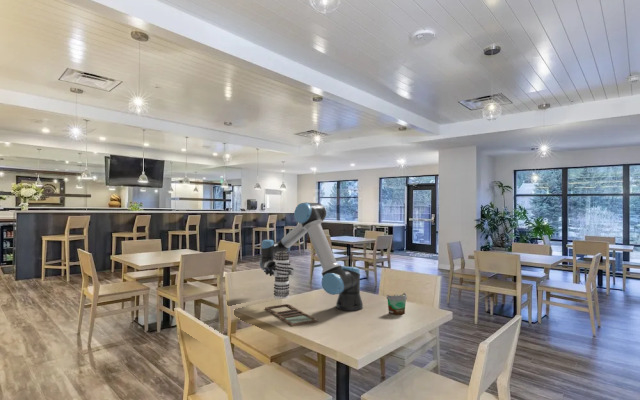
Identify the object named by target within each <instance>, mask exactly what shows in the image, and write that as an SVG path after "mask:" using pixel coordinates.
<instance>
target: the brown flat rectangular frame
mask: <svg viewBox="0 0 640 400" xmlns="http://www.w3.org/2000/svg"><path fill="white" fill-rule="evenodd" d="M284 307H288V308H289V309H288V310H287V309H286V310H282V311H274V310H273V309H277V308H284ZM265 310H266V311H267V312H270V313H271V314H272V315H274V316H275V317H277V318H279V319H280V320H282V321H283V322H284V323H286V324H288V325H289V326H290V327H296V326H302V325H307V324H313V323H317V322H318V319H317V318H315V317H313V316H311V315H309V314H308V313H305V312H304V311H302V310H300V309H298V308H297V307H295V306H292V305H291V304H289V303H284V304H279V305H270V306H265Z"/></svg>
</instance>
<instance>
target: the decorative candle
mask: <svg viewBox="0 0 640 400" xmlns="http://www.w3.org/2000/svg"><path fill="white" fill-rule="evenodd" d="M274 255H275V259H274V262H275V264H274V266H275V267H274V269H275V271H277V277H275V276H274V284H273V286H274V287H273V298H275V299H278V300H279V299H288V298H289V297H290V280H289V277H290V276H291V275H290V274H288V273H289V272H290V270H289V269H290V267H291V261H290V253H289V251H288V252H287V251H278V252H277V253H276V254H274Z"/></svg>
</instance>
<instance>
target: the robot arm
mask: <svg viewBox="0 0 640 400" xmlns="http://www.w3.org/2000/svg"><path fill="white" fill-rule="evenodd" d="M326 209H327V208H326V207H325V206H324V205H323V204H321V203H319V202H306V201H305V202H300V203H299V204H298V205H296V207H295V209H294V213H293V216H294V220H295V221H296V222H297V223H298V224H297V225H296V226H294V227H293V228H292V229H291V230H290V231H289V232H288V233H287V234H286V235H285V236H283V237H282V238H281V239H280V240H279V241H276V242H275V241H274V240H273V239H263V240H262V241H261V246H260V247H261V251H260V252H261V254H260V255H261V259H260V261H259V267H260V269H261V270H262V271H263V273H265V275H269V276H270V277H272V276H274V278H275V277H277V271H275V269H274V267H275V266H274V264H275V260H274V255H275V254H276V253H277V252H278V251H287V252H288V253H289V252H290V249H291V247H293V245H294V244H296V243H297V242H298V241H299V240H300V239H301V238H303V237H304V236H305V235H306V234H307V233H308V234H307V235H308V236H309V239H310V241H311V245H312V247H313V248H314V250H315V255H316V256H317V258H318V259H317V260H318V262H319V263H320V266H321V269H322V271H321V276H322V278H321V287H322V289H323V291H324V292H325V293H327V294H329V295H334V296H335V295H338V296H337V301H336V302H335V303H336V304H335V307H336V309H339V310H341V311H348V312H350V311H351V312H352V311H361V310H362V309H363V308H364V304H363V300H362V297H361V294H360V293H361V292H360V291H361V285H360V284H361V280H360V279H361V278H360V277H361V272H360V268H359V267H354V266H343V265H341V264H339V263H338V262H337V260H336V257H335V255H334V253H333V251H332V248H331V245H330V243H329V241H328V238H327V236H326V233H325V231H324V229H323V226H322V222H324V221H325V219H326V217H327V210H326ZM289 267H290V269H289V270H290V272H289V273H288V274H290V276H292V277H293V276H294V267H292V266H289Z"/></svg>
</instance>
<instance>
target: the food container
mask: <svg viewBox="0 0 640 400" xmlns="http://www.w3.org/2000/svg"><path fill="white" fill-rule="evenodd" d="M386 299H387V307H388V314H390V315H395V316H402V315H404V314H405V312H406V301H407V300H408V295H407V293H405V292H403V293H402V294H394V295H390V294H387V295H386Z"/></svg>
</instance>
